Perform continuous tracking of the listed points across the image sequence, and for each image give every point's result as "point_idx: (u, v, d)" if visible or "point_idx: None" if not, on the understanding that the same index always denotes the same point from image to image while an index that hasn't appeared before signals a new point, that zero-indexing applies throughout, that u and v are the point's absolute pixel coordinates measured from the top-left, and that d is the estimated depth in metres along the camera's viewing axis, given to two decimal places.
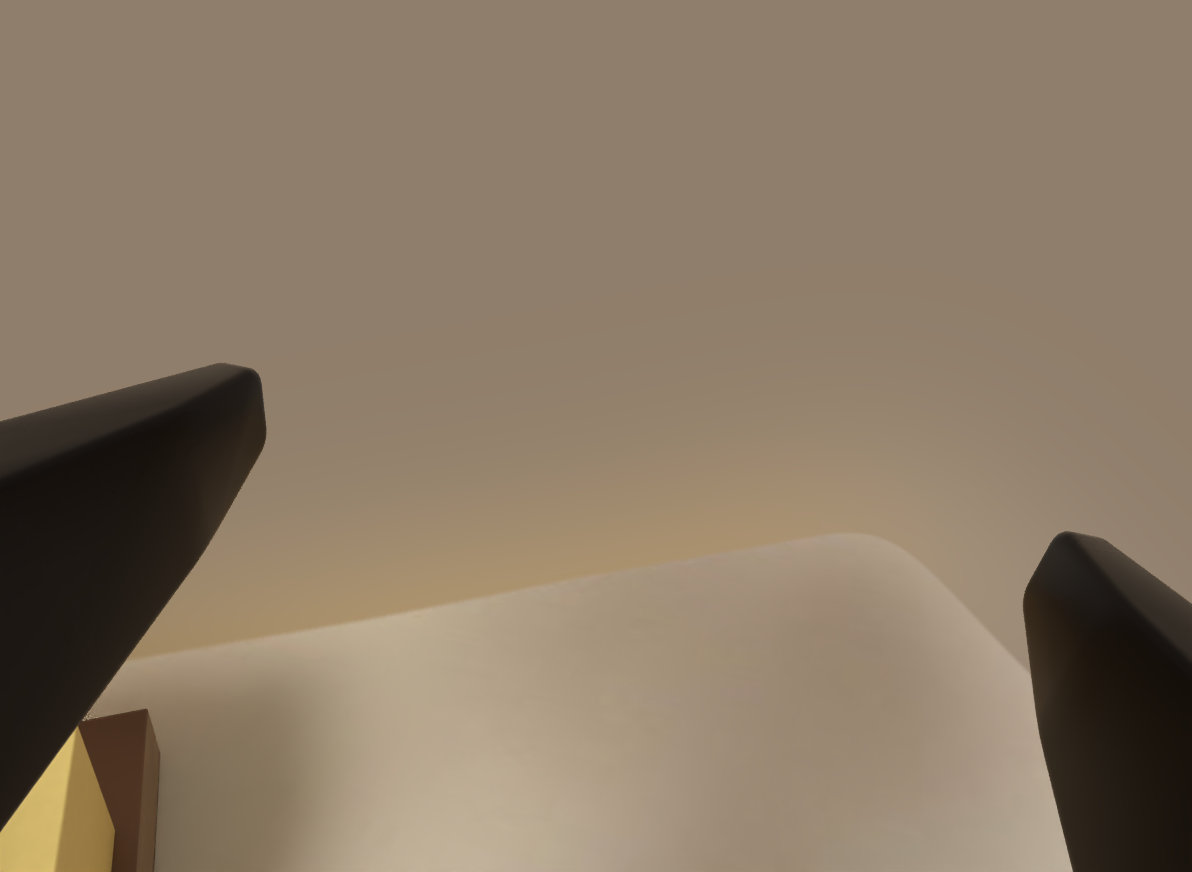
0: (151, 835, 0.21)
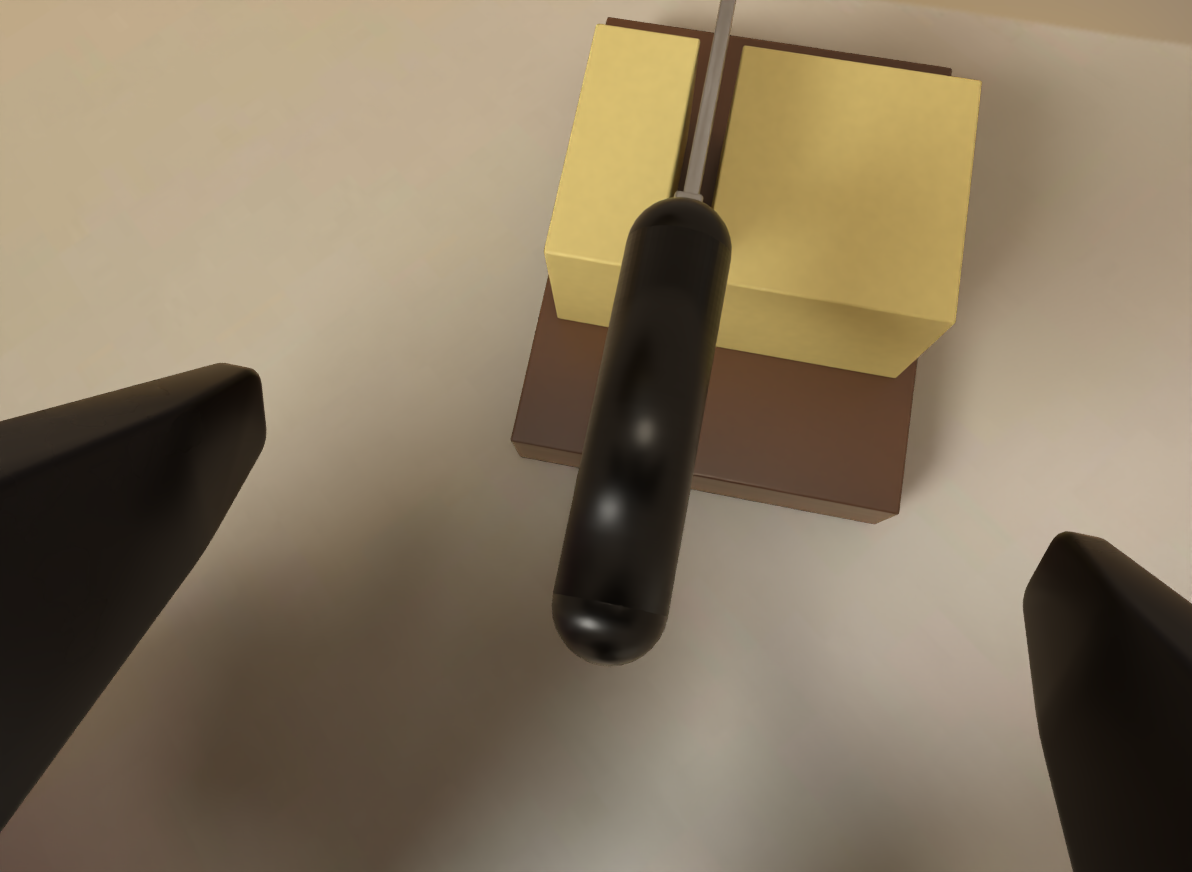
0: None
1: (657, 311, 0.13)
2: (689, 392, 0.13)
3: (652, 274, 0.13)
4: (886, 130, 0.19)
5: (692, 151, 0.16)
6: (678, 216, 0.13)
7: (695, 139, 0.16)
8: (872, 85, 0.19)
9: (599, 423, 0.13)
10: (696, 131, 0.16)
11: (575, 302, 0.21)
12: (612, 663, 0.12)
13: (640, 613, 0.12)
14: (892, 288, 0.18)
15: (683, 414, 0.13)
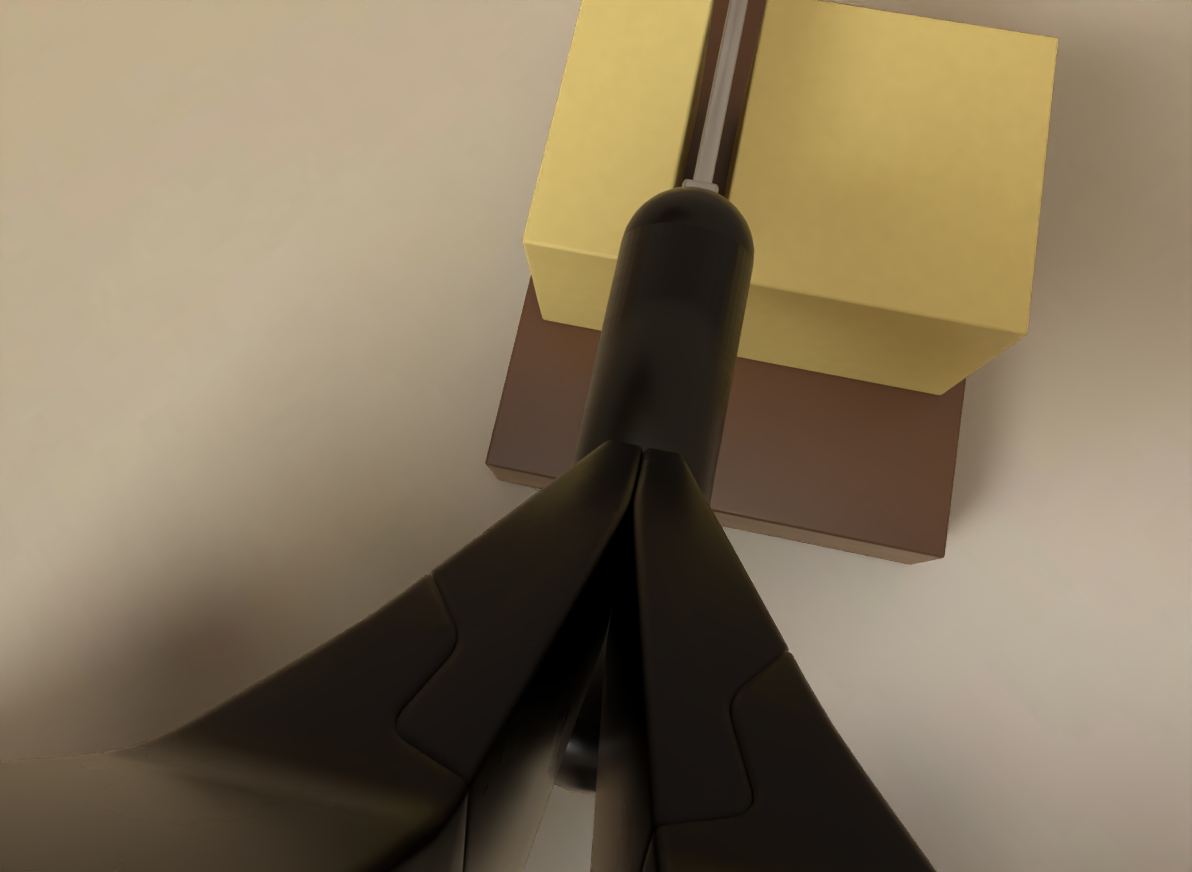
0: None
1: (659, 334, 0.10)
2: (699, 439, 0.10)
3: (653, 286, 0.10)
4: (942, 96, 0.15)
5: (704, 131, 0.13)
6: (687, 211, 0.10)
7: (708, 116, 0.13)
8: (925, 42, 0.16)
9: None
10: (709, 107, 0.13)
11: (562, 301, 0.17)
12: (595, 794, 0.09)
13: None
14: (949, 290, 0.15)
15: (691, 468, 0.10)
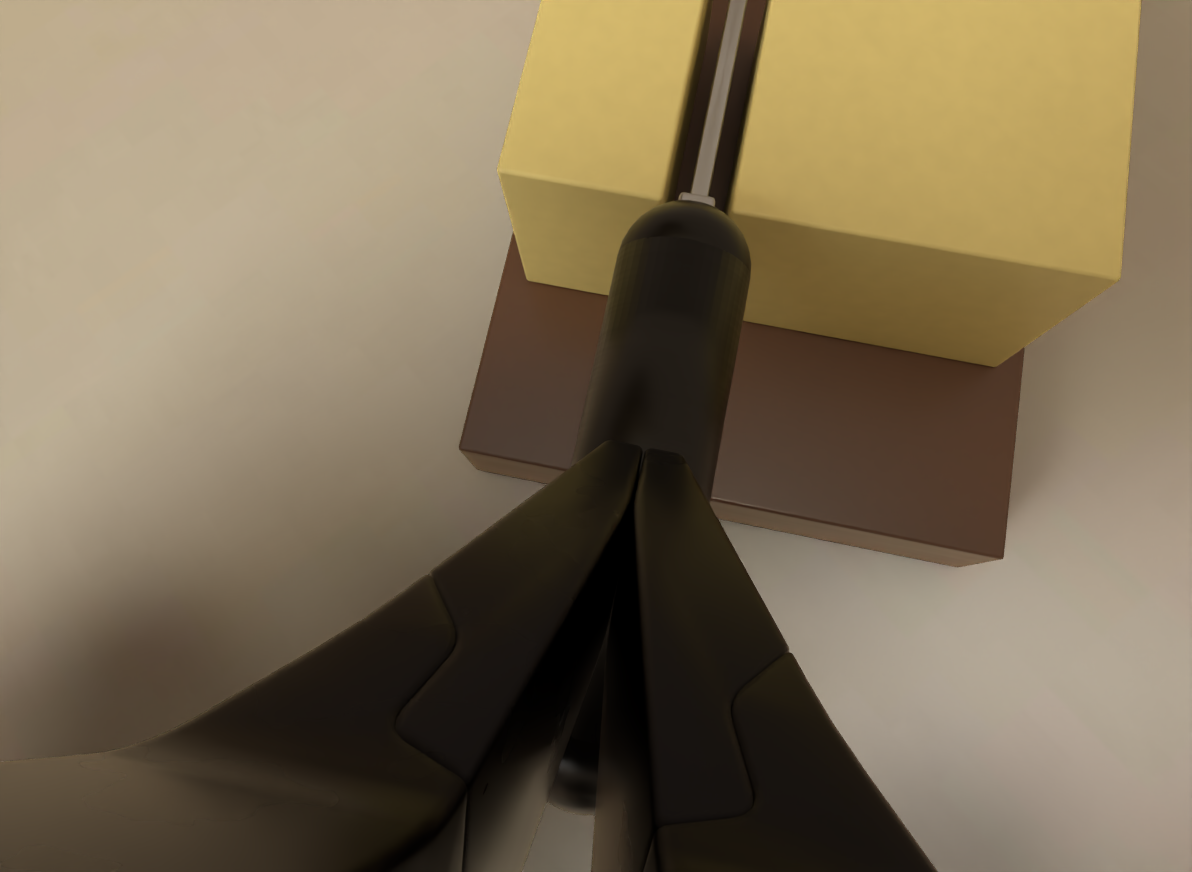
0: None
1: (655, 348, 0.10)
2: (696, 455, 0.10)
3: (649, 300, 0.10)
4: None
5: (701, 143, 0.13)
6: (684, 225, 0.10)
7: (705, 129, 0.13)
8: None
9: None
10: (706, 119, 0.13)
11: (548, 255, 0.15)
12: (591, 814, 0.09)
13: None
14: (1022, 227, 0.12)
15: None
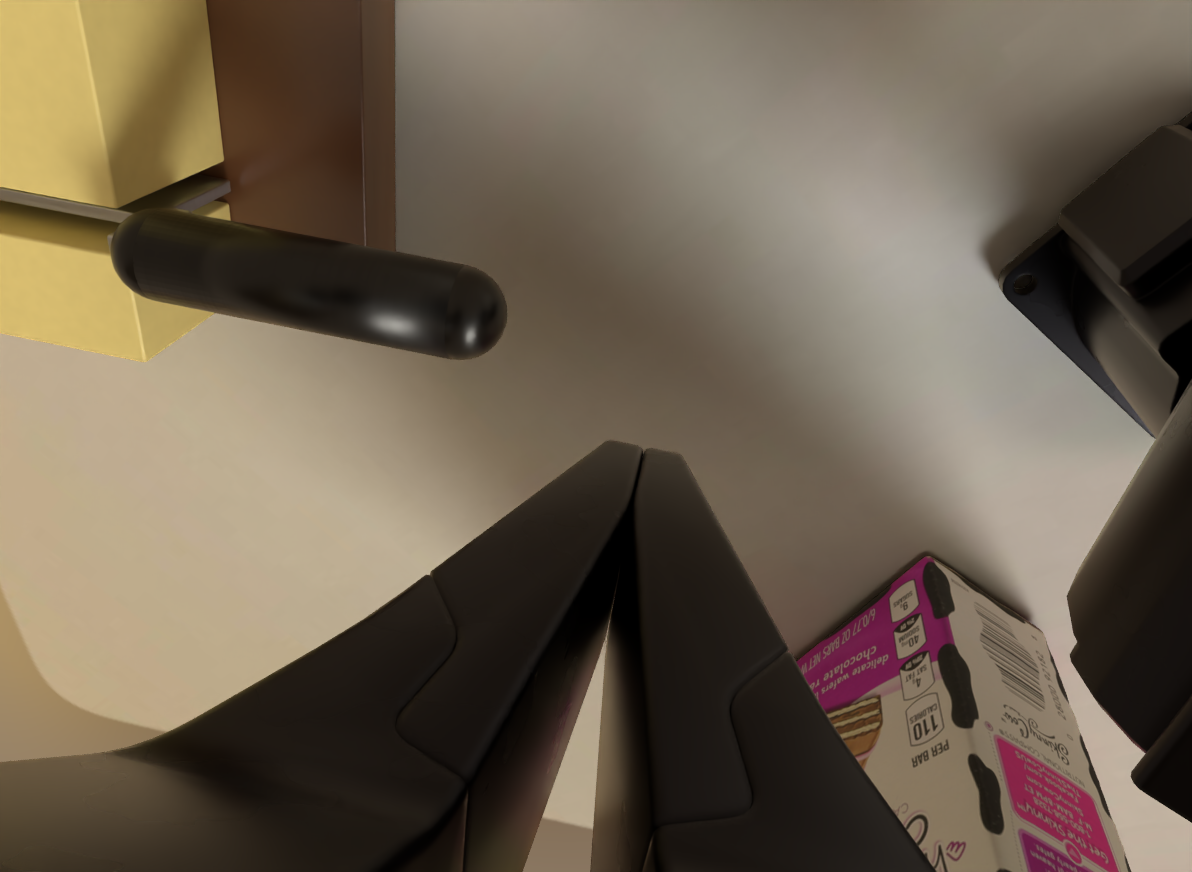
0: None
1: (210, 292, 0.15)
2: (270, 263, 0.15)
3: (182, 294, 0.16)
4: None
5: (80, 214, 0.18)
6: (127, 273, 0.16)
7: (68, 212, 0.18)
8: None
9: (315, 331, 0.16)
10: (60, 211, 0.18)
11: None
12: (498, 316, 0.15)
13: (450, 305, 0.15)
14: None
15: (289, 269, 0.15)
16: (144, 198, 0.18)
